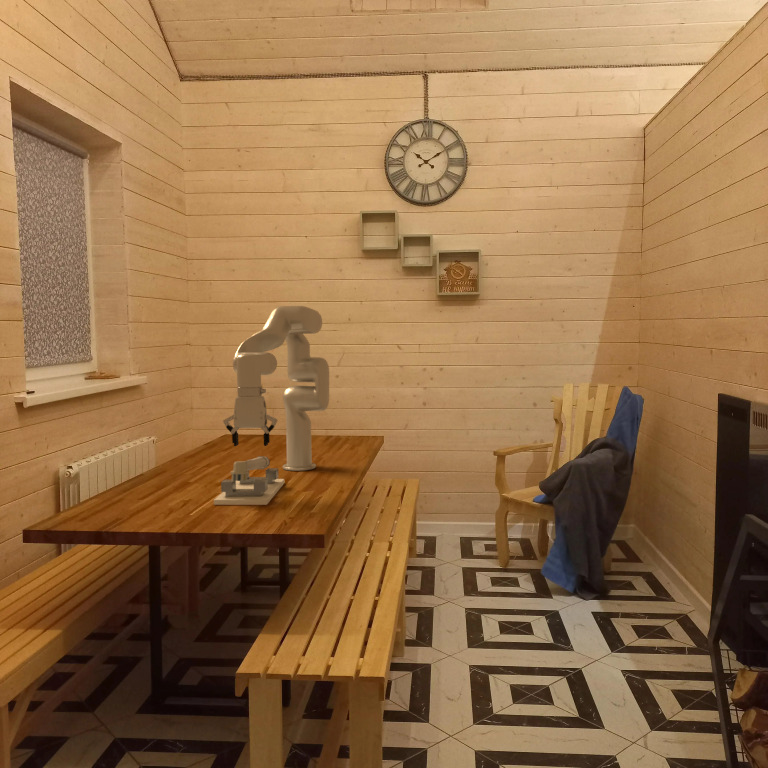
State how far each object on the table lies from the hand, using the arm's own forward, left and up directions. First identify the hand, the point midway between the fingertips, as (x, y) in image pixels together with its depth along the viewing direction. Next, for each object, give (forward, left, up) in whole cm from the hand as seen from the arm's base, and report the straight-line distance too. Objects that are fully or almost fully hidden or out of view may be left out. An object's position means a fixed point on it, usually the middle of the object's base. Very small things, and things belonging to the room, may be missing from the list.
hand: (251, 445), depth 219 cm
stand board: (0, 0, -16) cm, 16 cm away
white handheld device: (0, 0, -10) cm, 10 cm away
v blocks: (0, 0, -14) cm, 14 cm away
